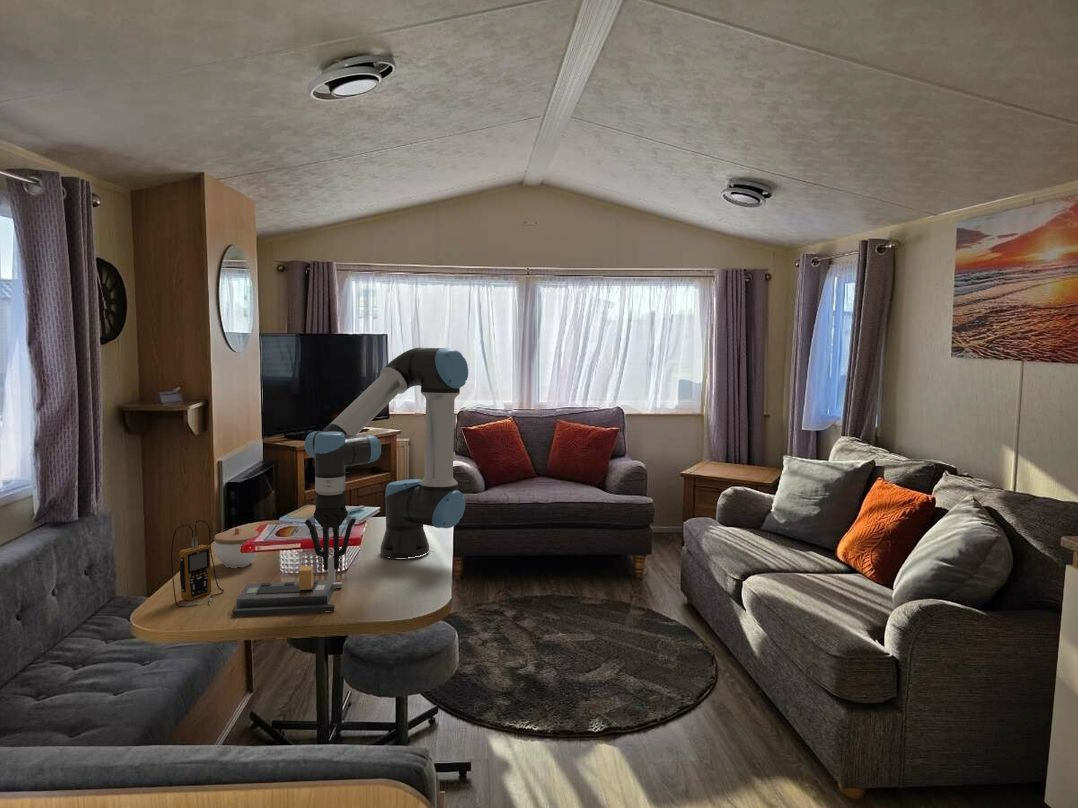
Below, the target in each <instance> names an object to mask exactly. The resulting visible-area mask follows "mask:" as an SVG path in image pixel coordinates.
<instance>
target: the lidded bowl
mask: <svg viewBox="0 0 1078 808" xmlns="http://www.w3.org/2000/svg"><path fill="white" fill-rule="evenodd" d="M258 535H260V532H259V531H257V530H255V529H245V528H244V529H240V528H239V527H235V528H234V529H233V530H226V531H222V532H220V533H216V534H215V535H214V536H213V540H214V541H213V542H214V549H215V554H216V556H217V559H218V560H219V562H221V563H222V564H223V565H224V566H226V568H228V567H231V568H230V569H238V568H237V567H241V568H245V567H248V566H250V565H251V564H252V562H253V561H254V559H256V558H257V555H258V553H241V552H240V549H241V546H242V544H243V543H244V542H246V541H247V540H249V539H250V538H254V537H256V536H258Z"/></svg>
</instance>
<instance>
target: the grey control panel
mask: <svg viewBox="0 0 1078 808" xmlns="http://www.w3.org/2000/svg"><path fill="white" fill-rule="evenodd" d="M333 592H334V589H333V583H328V580H314V585H313V587H312V589H305V590H299V581H285V582H282V581H281V582H262V583H261V582H260V583H257V582H256V583H246V585H245V587H243V589H242V591H241V592H240V593H239V594H238V596H237V598H236V600H235V601H236V609H245V608H268V607H292V606H315V605H329V604H330V602H329V601H331V599H332V596H333ZM331 595H332V596H331ZM330 598H331V599H330ZM328 603H329V604H328Z"/></svg>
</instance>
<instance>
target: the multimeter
mask: <svg viewBox="0 0 1078 808" xmlns="http://www.w3.org/2000/svg"><path fill="white" fill-rule="evenodd" d="M198 522H203V523H205V524H206V526H207V527H208V531H209V532H208V534H209V535H208V536H209V537H208V539H209V541H208V542H209V545H206V544H200V545H198V544H199V543H198V536H197V532H198V531H197V523H198ZM194 526H195V527H194V529H195V542H194V530H193V528H192V526H191V525H188V524H181V525H179V526H178V527H177V528H176V529H175V531H174V533H173V537H172V542H171V553H170V556H171V557H170V558H171V559H170V560H171V561H170V563H171V565H170V566H171V576H172V588H173V594H174V601H175V602H174V603H175V605H176V607H178V608H182V607H191V606H198V605H202V604H203V605H204V604H205V602H200V603H198V602H196V603H188V604H184V605H178V603H177V598H176V588H175V581H174V570H173V569H174V568H173V548H174V541H175V537H176V533H177V531H178V529H180V528H182V527H188V528H189V529H190V530H191V547H189V548H185V549H181V550H179V551H178V552H179V554H178V555H179V581H180V582H179V583H180V593H181V594H180V595H181V597H180V598H181V599H182V600H184V601H189V602H190V601H193V600H194V599H197V598H200V597H203V596H209V595H210V594H211V593H212V571H211V570H212V567H213V575H214V579H215V583H216V586H217V588H218V589H219V588H220V589H219V590H221V589H222V591H221V592H220V593H216V594H212V595H210V596H209V601H208V603H209V605H211V603H212V597H213V596H218V595H221V594H223V593H224V592H225V590H224V589H223V588H221V587H220V586H219V584H218V580H217V575H216V569H215V564H214V558H213V555H212V553H213V552H212V545H211V528H210V526H209V523H207V522H206V521H204V520H200V519H199V520H196V522H195V523H194ZM211 561H212V564H211ZM211 566H212V567H211ZM210 602H211V603H210Z"/></svg>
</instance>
